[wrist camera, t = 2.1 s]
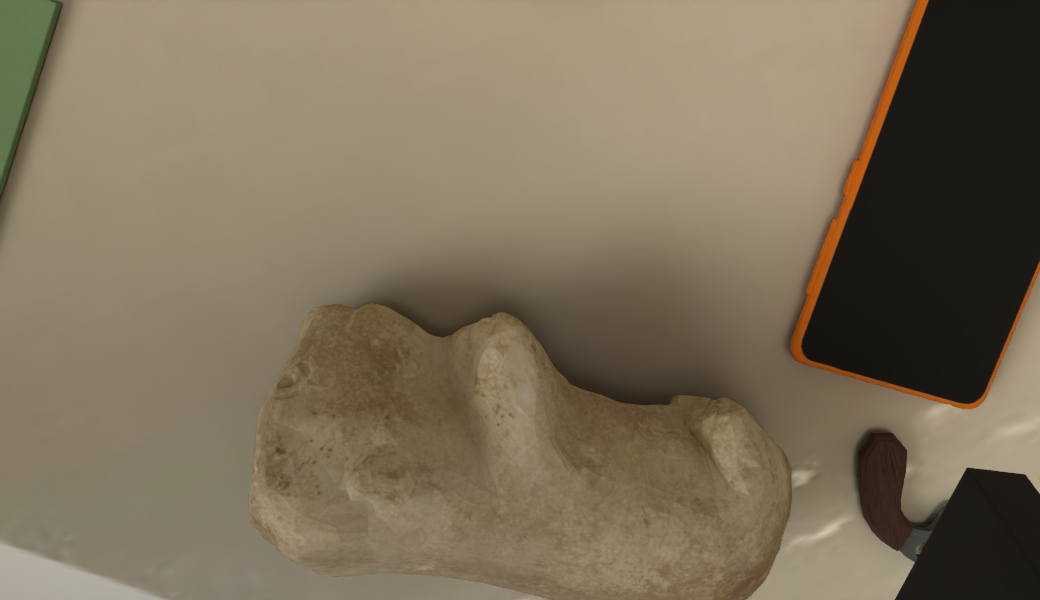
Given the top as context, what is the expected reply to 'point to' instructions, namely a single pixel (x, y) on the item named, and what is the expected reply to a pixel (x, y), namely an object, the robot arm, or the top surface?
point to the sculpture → (506, 469)
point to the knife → (888, 494)
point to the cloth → (20, 66)
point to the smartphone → (937, 211)
